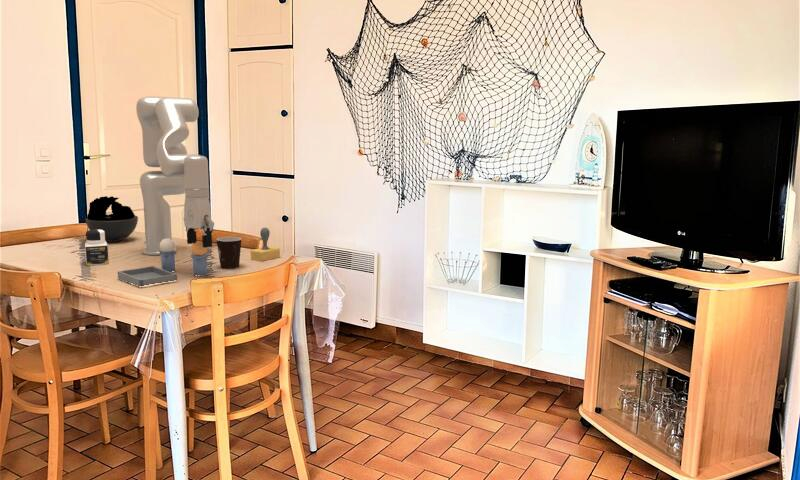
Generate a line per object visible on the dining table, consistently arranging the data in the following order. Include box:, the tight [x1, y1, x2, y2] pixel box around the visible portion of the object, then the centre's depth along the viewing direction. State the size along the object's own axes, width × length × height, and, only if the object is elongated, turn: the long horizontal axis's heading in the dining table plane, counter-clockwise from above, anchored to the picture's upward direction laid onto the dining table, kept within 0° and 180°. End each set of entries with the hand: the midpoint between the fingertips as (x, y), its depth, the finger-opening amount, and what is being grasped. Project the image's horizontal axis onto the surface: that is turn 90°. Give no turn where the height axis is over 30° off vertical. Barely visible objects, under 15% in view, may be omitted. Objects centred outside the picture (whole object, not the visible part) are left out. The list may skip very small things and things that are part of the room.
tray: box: [117, 265, 178, 286], centre depth 208 cm, size 16×12×2 cm
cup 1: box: [159, 250, 177, 273], centre depth 220 cm, size 4×4×7 cm
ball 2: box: [191, 241, 208, 256], centre depth 214 cm, size 5×5×5 cm
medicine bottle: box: [84, 229, 110, 266], centre depth 230 cm, size 7×7×12 cm
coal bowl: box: [85, 195, 139, 242], centre depth 270 cm, size 20×20×19 cm
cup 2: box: [190, 253, 209, 276], centre depth 215 cm, size 4×4×7 cm
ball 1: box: [160, 238, 176, 253], centre depth 219 cm, size 5×5×5 cm
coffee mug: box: [215, 236, 242, 270], centre depth 227 cm, size 12×9×10 cm
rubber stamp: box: [250, 227, 281, 263], centre depth 242 cm, size 10×6×12 cm, turn 145°
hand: (199, 245), depth 214 cm, fingers open, 9 cm apart
